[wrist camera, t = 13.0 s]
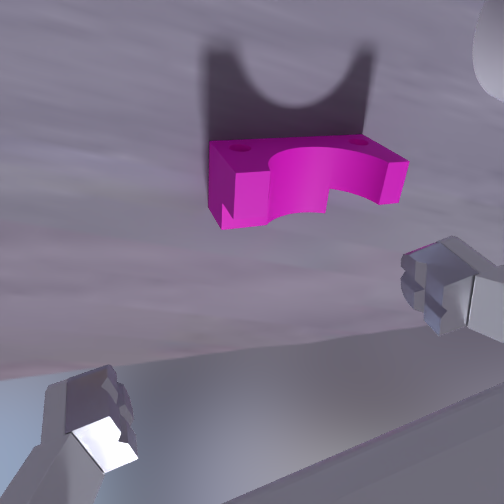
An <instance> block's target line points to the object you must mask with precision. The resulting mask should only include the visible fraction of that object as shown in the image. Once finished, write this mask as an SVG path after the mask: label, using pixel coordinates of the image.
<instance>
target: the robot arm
mask: <svg viewBox="0 0 504 504" xmlns="http://www.w3.org/2000/svg"><path fill="white" fill-rule="evenodd" d="M473 65H474V70H475V74H476V77H477V79H478V81H479V83H480V85H481V86H482V88H483V89H484V90H485V91H486V92H487V93H488V94H489V95H491V96H492V97H494V98H496V99H498V100H500V101H502V102H503V103H504V0H485V2H484V4H483V7H482V9H481V12H480V15H479V18H478V21H477V25H476V29H475V34H474V40H473ZM401 267H402V268H403V269H404V270H405V272H404V274H403V276H402V277H401V289H402V292H403V295H404V298H405V299H406V301H407V302H408V304H409V305H410V306H411V307H412V308H413V309H414V310H417V311H420V312H423V313H424V321H425V322H426V323H427V324H428V325H429V326H430V327H431V328H432V329H433V331H435V333H436V334H437V335H438V336H442V335H445V334H447V333H450V332H452V331H455V330H458V329H461V328H463V327H466V326H468V328H470V329H472V330H474V331H477V332H479V333H481V334H483V335H486V336H488V337H490V338H493V339H495V340H497V341H500V342H502V343H504V265H501V266H498V267H497V266H496V265H495V264H493V263H492V262H491V261H489V260H488V259H486V258H485V257H484V256H482V255H481V254H480V253H478V252H477V251H476V250H474V249H473V248H472V247H470V246H469V245H468V244H466V243H465V242H463V241H462V240H461V239H459V238H458V237H456V236H450V237H447V238H445V239H442V240H440V241H437V242H435V243H432V244H429V245H427V246H424V247H422V248H419V249H416V250H414V251H411V252H408V253H406V254H403V256H402V258H401ZM44 403H45V404H44V414H43V424H42V435H41V444H40V445H38V446H35V447H34V448H33V450H32V451H31V453H30V454H29V456H28V457H27V459H26V460H25V462H24V463H23V465H22V466H21V468H20V469H19V471H18V472H17V474H16V475H15V477H14V478H13V480H12V481H11V483H10V484H9V486H8V487H7V489H6V490H5V492H4V493H3V495H2V496H1V498H0V504H93V503H94V500H95V498H96V496H97V493H98V491H99V488H100V486H101V484H102V481H103V479H104V476H105V475H104V473H106V472H108V471H111V470H113V469H115V468H117V467H120V466H122V465H125V464H127V463H129V462H131V461H134V460H136V459H138V453H137V443H136V434H135V433H134V431H133V430H132V428H131V424H132V422H133V420H134V416H133V408H132V405H131V401H130V398H129V395H128V393H127V390H126V389H125V387H124V385H123V384H121V383H118V382H117V375H116V372H115V370H114V369H113V367H112V366H111V365H105V366H102V367H99V368H96V369H94V370H91V371H88V372H85V373H82V374H79V375H76V376H73V377H70V378H69V379H66V380H64V381H60V382H57V383H54V384H51V385H49V386H48V388H47V390H46V392H45V402H44ZM223 504H504V382H503V383H500V384H498V385H496V386H494V387H491V388H489V389H486V390H484V391H482V392H479V393H478V394H475V395H473V396H470V397H468V398H466V399H463V400H461V401H459V402H457V403H454V404H452V405H449V406H447V407H445V408H443V409H440V410H438V411H436V412H433V413H431V414H429V415H426V416H424V417H422V418H419V419H417V420H415V421H412V422H410V423H408V424H405V425H403V426H401V427H399V428H396V429H394V430H392V431H389V432H387V433H385V434H383V435H380V436H378V437H375V438H373V439H371V440H369V441H366V442H364V443H362V444H360V445H357V446H355V447H352V448H350V449H348V450H345V451H343V452H341V453H338V454H336V455H334V456H332V457H329V458H327V459H325V460H322V461H320V462H318V463H315V464H313V465H311V466H308V467H306V468H304V469H301V470H299V471H297V472H294V473H292V474H290V475H287V476H285V477H283V478H280V479H278V480H276V481H274V482H271V483H269V484H267V485H264V486H262V487H260V488H257V489H255V490H253V491H250V492H248V493H246V494H243V495H241V496H239V497H236V498H234V499H232V500H230V501H227V502H225V503H223Z"/></svg>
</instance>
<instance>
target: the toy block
mask: <svg viewBox="0 0 504 504" xmlns="http://www.w3.org/2000/svg"><path fill="white" fill-rule="evenodd" d="M409 162H410V161H408V160H406V159H405V158H403V157H401V156H399V155H398V154H396V153H394V152H392V151H391V150H389V149H387V148H385V147H384V146H382V145H380V144H378V143H377V142H375V141H373V140H371V139H370V138H368V137H366V136H364V135H363V134H357V135H334V136H311V137H288V138H265V139H243V140H220V141H209V201H208V208H209V210H210V211H211V213H212V215H213V216H214V218H215V220H216V221H217V223H218V225H219V227H220V228H221V230H225V229H234V228H243V227H252V226H261V225H267V224H268V223H269V222H270V221H272V220H274V219H276V218H278V217H280V216H283V215H287V214H292V213H300V212H318V213H325V211H326V205H327V199H328V193H329V189H336V190H341V191H346V192H349V193H353V194H356V195H359V196H362V197H364V198H367V199H369V200H371V201H373V202H375V203H377V204H378V205H382V204H391V203H399V199H400V195H401V192H402V188H403V184H404V180H405V177H406V173H407V169H408V165H409Z"/></svg>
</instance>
